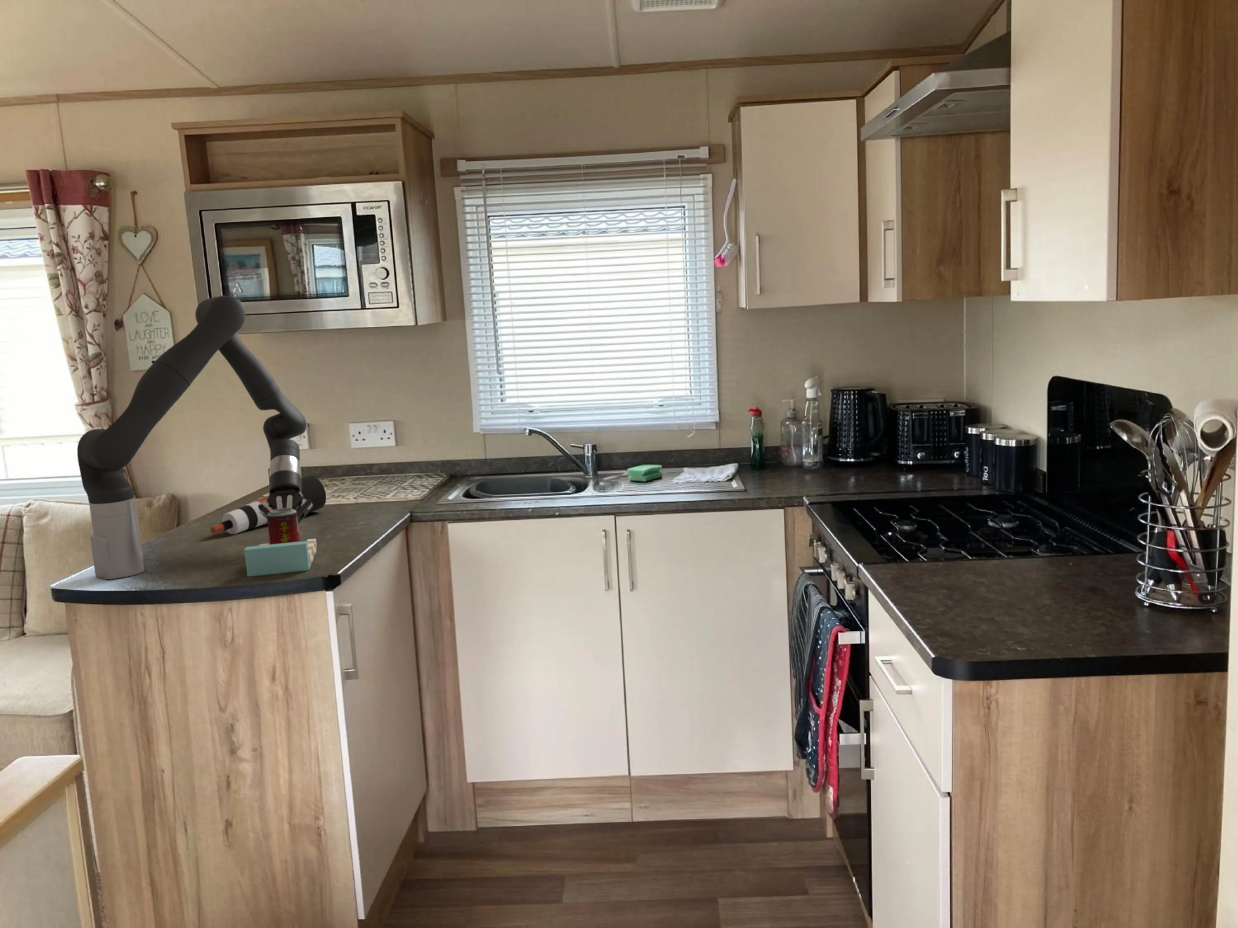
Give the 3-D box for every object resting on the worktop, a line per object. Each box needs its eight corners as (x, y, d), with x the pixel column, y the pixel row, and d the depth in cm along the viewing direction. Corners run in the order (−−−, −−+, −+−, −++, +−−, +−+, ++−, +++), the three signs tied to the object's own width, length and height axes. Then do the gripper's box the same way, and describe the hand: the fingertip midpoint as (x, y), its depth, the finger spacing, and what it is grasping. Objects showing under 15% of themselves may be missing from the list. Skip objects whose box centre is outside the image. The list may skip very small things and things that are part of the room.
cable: (213, 554, 261) (194, 520, 261) (313, 514, 288) (296, 483, 289) (231, 540, 255) (212, 505, 255) (331, 500, 282) (314, 469, 283)
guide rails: (260, 554, 237) (259, 544, 237) (316, 548, 240) (315, 538, 240) (248, 574, 219) (247, 563, 219) (309, 567, 222) (308, 557, 221)
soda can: (296, 553, 236) (290, 505, 234) (306, 558, 231) (300, 509, 229) (268, 558, 232) (262, 510, 230) (277, 564, 227) (271, 514, 225)
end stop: (249, 573, 220) (246, 546, 219) (310, 566, 223) (307, 540, 222) (247, 576, 217) (244, 549, 216) (308, 570, 220) (306, 543, 219)
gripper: (254, 471, 240) (253, 531, 230) (311, 466, 243) (312, 525, 233) (259, 489, 246) (259, 548, 236) (315, 484, 249) (316, 542, 239)
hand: (285, 537), depth 235 cm, fingers closed
